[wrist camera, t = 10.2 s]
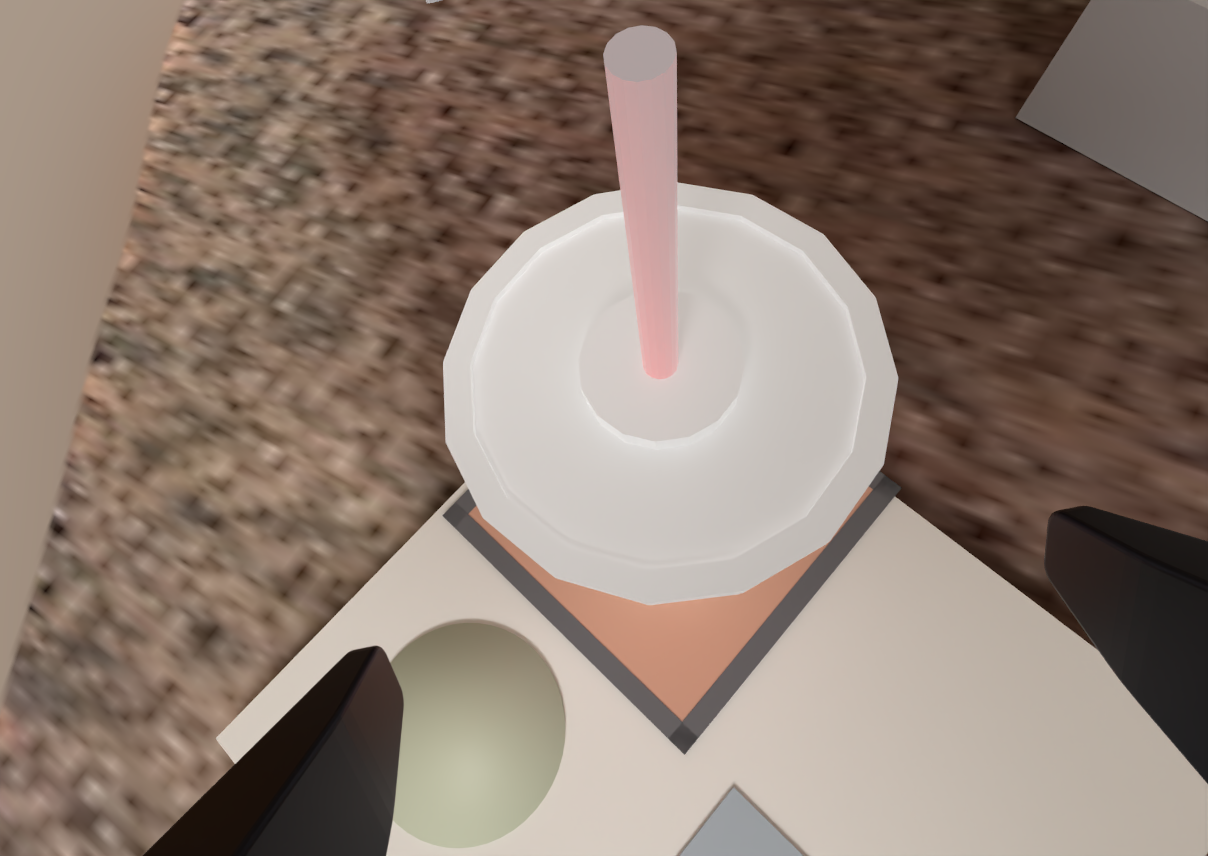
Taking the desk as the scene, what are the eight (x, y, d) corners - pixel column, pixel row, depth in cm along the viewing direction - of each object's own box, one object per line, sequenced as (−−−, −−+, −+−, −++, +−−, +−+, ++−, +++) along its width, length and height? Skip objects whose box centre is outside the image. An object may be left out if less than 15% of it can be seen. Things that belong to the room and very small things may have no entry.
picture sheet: (792, 1458, 12) (801, 1518, 12) (234, 735, 18) (212, 739, 17) (1234, 757, 15) (1267, 762, 14) (646, 310, 20) (645, 295, 20)
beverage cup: (593, 664, 16) (243, 695, 3) (528, 440, 18) (151, -96, 5) (830, 585, 16) (1435, 292, 3) (738, 370, 19) (880, -338, 5)
